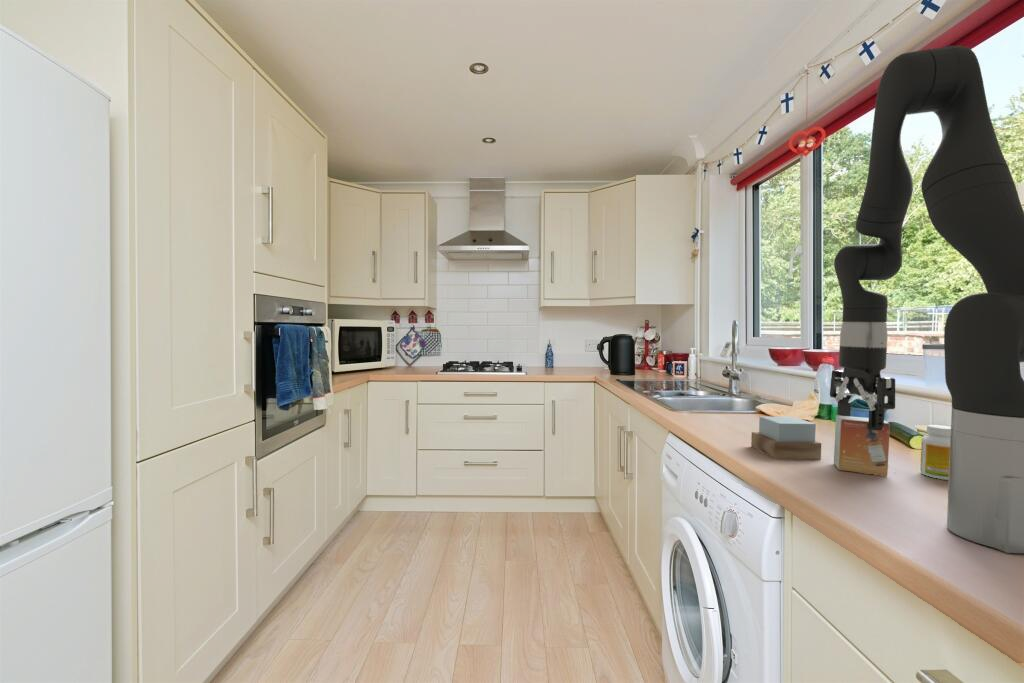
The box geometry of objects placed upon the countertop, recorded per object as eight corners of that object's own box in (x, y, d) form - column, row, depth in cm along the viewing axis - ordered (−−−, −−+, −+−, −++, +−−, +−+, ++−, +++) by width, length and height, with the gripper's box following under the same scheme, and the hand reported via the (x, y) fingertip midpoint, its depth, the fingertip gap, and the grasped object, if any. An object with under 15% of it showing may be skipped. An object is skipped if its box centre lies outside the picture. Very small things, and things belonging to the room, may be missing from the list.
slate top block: (815, 442, 99) (815, 424, 99) (778, 441, 99) (779, 423, 99) (792, 433, 107) (793, 416, 107) (759, 433, 107) (759, 416, 107)
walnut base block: (820, 461, 98) (821, 443, 98) (774, 460, 99) (775, 442, 98) (793, 449, 108) (793, 432, 108) (751, 448, 109) (751, 432, 108)
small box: (837, 470, 91) (839, 418, 90) (833, 463, 96) (834, 414, 95) (888, 477, 87) (890, 423, 87) (881, 469, 92) (882, 418, 91)
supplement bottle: (966, 482, 85) (968, 430, 84) (932, 479, 86) (934, 429, 85) (944, 473, 90) (946, 424, 90) (913, 471, 91) (915, 423, 91)
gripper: (912, 347, 83) (907, 433, 84) (855, 343, 98) (851, 417, 98) (871, 346, 83) (866, 433, 84) (820, 342, 98) (816, 416, 98)
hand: (858, 424), depth 91 cm, fingers open, 8 cm apart
